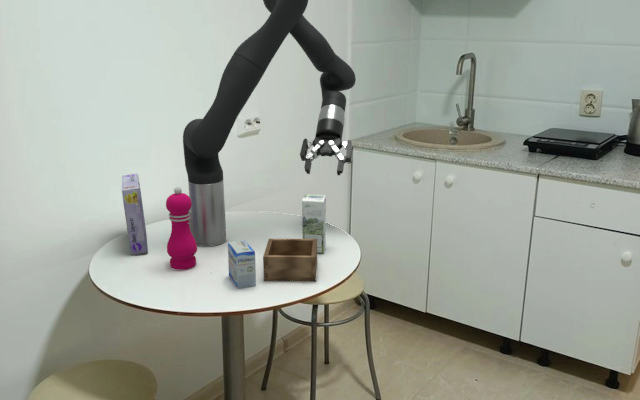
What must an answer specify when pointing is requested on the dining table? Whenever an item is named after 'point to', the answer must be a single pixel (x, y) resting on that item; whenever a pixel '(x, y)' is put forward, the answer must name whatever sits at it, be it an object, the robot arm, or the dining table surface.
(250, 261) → the medicine box
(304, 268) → the open wooden box
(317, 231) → the syrup box
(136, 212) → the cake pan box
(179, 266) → the pepper mill
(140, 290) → the dining table surface
